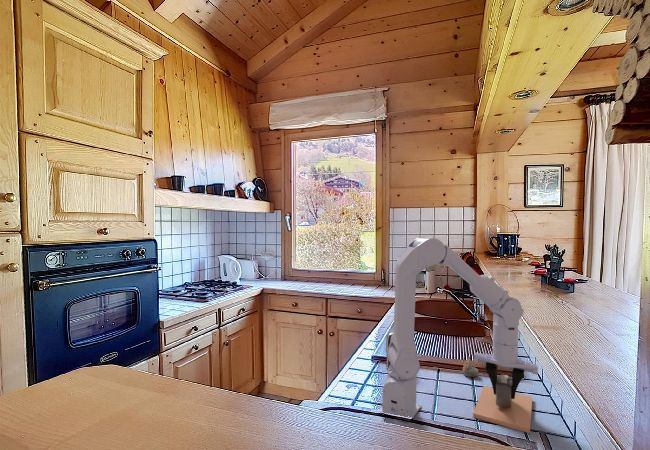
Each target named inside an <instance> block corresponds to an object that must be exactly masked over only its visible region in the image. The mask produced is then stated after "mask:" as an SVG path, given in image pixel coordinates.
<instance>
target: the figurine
mask: <svg viewBox="0 0 650 450" xmlns="http://www.w3.org/2000/svg"><path fill="white" fill-rule="evenodd" d="M462 374H463V375H465V377H470V378H472V377H473V378H474V377H477V376H478V375H479V369H478V368H476V367H474V366H472V365H471V357H470V356H469V355H468V358H467V359H466V360H465V362H464V363H463V367H462Z"/></svg>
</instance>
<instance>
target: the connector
mask: <svg viewBox="0 0 650 450" xmlns="http://www.w3.org/2000/svg"><path fill="white" fill-rule="evenodd" d="M511 393H512V376H509V375H506V374H500V375H497V382H496V405H497V406H499V407H502V408H511V404H512V399H511Z"/></svg>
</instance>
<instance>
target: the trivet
mask: <svg viewBox="0 0 650 450" xmlns="http://www.w3.org/2000/svg"><path fill="white" fill-rule="evenodd" d="M476 402H477V403H476V405H475V407H474V410H473V412H472V418H474V419H478V420H483V421H484V422H485V421H486V422H488V423H489V422H490V423H493V424H496V425H499V426H503V427H507V428H510V429H514V430H517V431H520V432H524V433H527V434H531V426H532V425H531V423H532V413H533V411H532V410H533V409H532V408H533V396H531V395H530V396H529V395H526V394H522V393H517V392H516V393H515V399H512V404H511V408H502V407H499V406H497V405H496V395H495V394H494V392H493V387H492V386H488V385H483V387H482V390H481V392H480V395H479V397H478V400H477V401H476Z"/></svg>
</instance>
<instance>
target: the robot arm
mask: <svg viewBox="0 0 650 450" xmlns="http://www.w3.org/2000/svg"><path fill="white" fill-rule="evenodd" d="M437 264H441V265H443V266H446V267H448V268H449V269H450V270H452V271H453V272H454V273H455V274H457V276H459V277H460V278H462V280H464V281H466V283H467V284H469V290H470V292H471V293H472V294H473V295H474V296H475V297H477V298H478V299H479V300H481V302H483V304H485V305H486V306H487V307H488V308H489V309H488V310H489V311H490V312H491V313H493V318H492V319H493V320H492V321H493V322H492V325H493V326H492V353H491V354H489V353H481V352H474V354H473V362H474V363H481V364H482V363H483V364H485V371H486V373H487V376H488V378H489V379H490V383H491V387H492V388H493V392H494V394H495V395H496V382H497V379H498V371H499V370H498V368H499V367H503V368H506V369H512V372H511V378H512V393H511V399H515V393H517V389H518V387H519V384H520V383H521V382H522V379H523V378H524V374H525V373H526V372H527V373H532V374H533V375H537V376H538V374H539V365H538V363H533V362H532V363H531V362H529V361H525V360H522V359H518V355H519V354H518V353H519V352H518V351H519V349H518V347H519V325H520V320H521V318H522V317H523V315H524V312H525V309H524V308H523V306H522V304H521V302H520V301H519V299H518V298H515V297H512V296H509V291H508V290H507V289H505V288H504V289H503V288H502V287H501V286H500V285H498V284H497V283H496V282H495V281H496V278H494V277H493V276H489V275H487V274H481V275H479V273H478V272H476V271H475V269H473V268H472V267H471V266H470V265H469V264H467V263H466V262H465V261H464V260H463V258H462V257H460V256H459V255H458V254H457V253H456V252H455V251H454V250H453V249H452V248H451V247H449V246H448V245H446V244H444V242H443V241H442V240H440V239H438V238H435V237H433V238H429V237H425V236H424V237H423V236H422V237H417V238H415V239H414V240H412V241H411V242H410V243H408V244H407V246H406V249H405V250H404V252H403V253H402V255H401V257H400V258H399V260H398V262H397V263H396V266H395V280H394V281H395V283H394V309H393V310H394V311H393V332H392V333H393V335H392V336H391V341H390V345H389V347H388V349H387V357H386V359H387V358H388V360H389V362H390V366H389V368H387V380H386V383H385V384H384V386H383V387H382V405H381V408H380V409H378V412H379V411H382V412H384V413H390V414H394V415H400V416H404V417H408V416H409V417H413V418H414V417H415V416H416V414H417V413H418V412H419V410H420V409H421V408H422V403H418V402H417V380H418V379H417V377H418V376H417V375H418V373H419V371H420V367H421V365H420V361H419V358H418V357H417V346H416V342H415V320H416V319H415V318H416V316H415V315H416V295H417V294H416V293H417V292H416V289H417V287H416V286H417V275H419V273H421V272H422V271H424V270H425V269H427V268H428V267H431V266H435V265H437Z"/></svg>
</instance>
